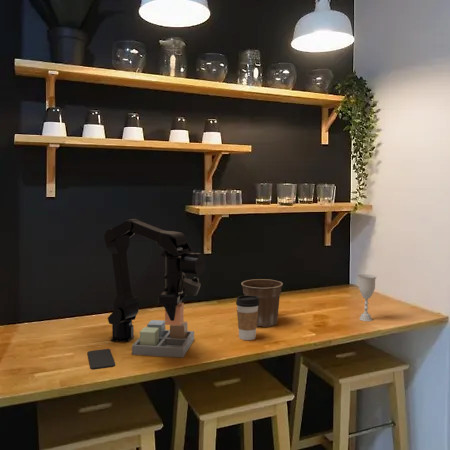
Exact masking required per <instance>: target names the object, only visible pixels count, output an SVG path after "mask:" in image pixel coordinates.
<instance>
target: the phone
mask: <svg viewBox="0 0 450 450" xmlns="http://www.w3.org/2000/svg"><path fill="white" fill-rule="evenodd" d="M86 353H87V359H88V363H89V367H90V369H91V370H101V369H107V368H108V369H109V368H114V367H116V362H115V359H114V356H113V354H112V351H111V348H104V349H103V348H101V349H95V350H89V351H87V352H86Z"/></svg>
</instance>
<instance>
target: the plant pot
mask: <svg viewBox="0 0 450 450" xmlns="http://www.w3.org/2000/svg"><path fill="white" fill-rule="evenodd" d="M283 284H284V283H283V282H282V281H279V280H275V279H268V278H267V279H266V278H264V279H262V278H258V279H257V278H256V279H254V278H253V279H247V280H243V281H242V282H241V286H242V292H243V294H244V295H249V296H258V298H259V305H258V318H257V327H256V328H259V327H264V328H268V327H270V328H271V327H274V326H276V325H277V324H278V318H279V308H280V297H281V294H282V287H283ZM244 295H243V296H244Z"/></svg>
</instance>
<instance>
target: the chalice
mask: <svg viewBox="0 0 450 450" xmlns="http://www.w3.org/2000/svg"><path fill="white" fill-rule="evenodd" d="M357 276H358V289H359V292H360V294H361V296H362V298H363V299H365V300H364V306H363V308H364V311H363V312H362V313H361V315H360V317H358V319H359V320H360V321H363V322H372V321H373V319H372V316H371V314H370V313H369V312H368V309H369V306H368V305H369V299H370V298H371V297H372V296H373V294H374V292H375V289H376V279H377V278H378V277H377V276H376V275H373V274H366V273H365V274H363V273H362V274H358V275H357Z"/></svg>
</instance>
